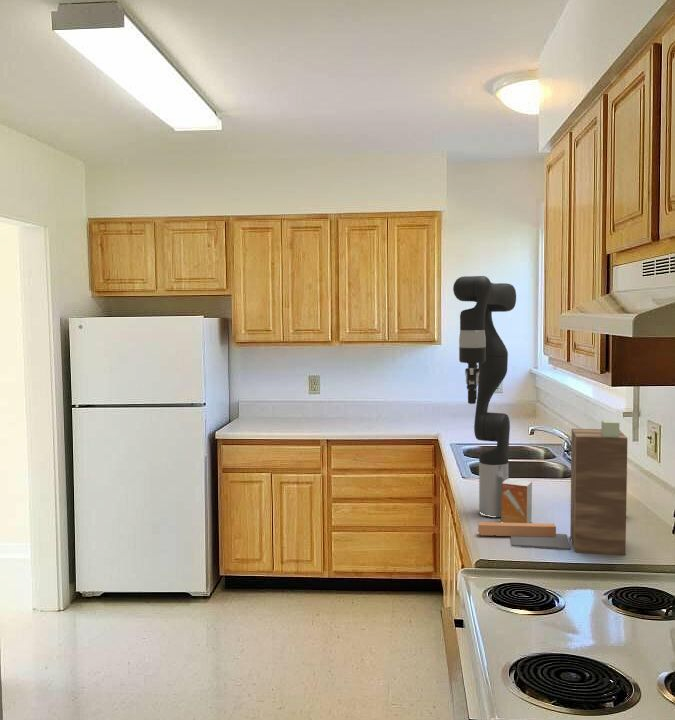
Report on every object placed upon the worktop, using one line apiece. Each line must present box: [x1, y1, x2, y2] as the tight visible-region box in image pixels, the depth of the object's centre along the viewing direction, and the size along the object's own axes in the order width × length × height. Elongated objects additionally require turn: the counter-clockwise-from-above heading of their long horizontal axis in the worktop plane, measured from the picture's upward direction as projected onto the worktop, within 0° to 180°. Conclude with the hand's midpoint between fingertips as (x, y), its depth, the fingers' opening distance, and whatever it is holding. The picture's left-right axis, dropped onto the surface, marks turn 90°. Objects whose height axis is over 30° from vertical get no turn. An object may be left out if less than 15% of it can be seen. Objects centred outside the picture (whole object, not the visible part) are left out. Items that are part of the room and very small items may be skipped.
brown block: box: [477, 521, 557, 537], centre depth 210 cm, size 3×22×3 cm
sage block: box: [601, 419, 620, 438], centre depth 194 cm, size 4×4×4 cm
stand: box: [569, 428, 628, 556], centre depth 200 cm, size 13×13×32 cm
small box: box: [500, 478, 533, 523], centre depth 222 cm, size 8×6×13 cm
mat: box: [510, 533, 572, 551], centre depth 205 cm, size 12×16×1 cm
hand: (472, 401), depth 207 cm, fingers open, 8 cm apart
